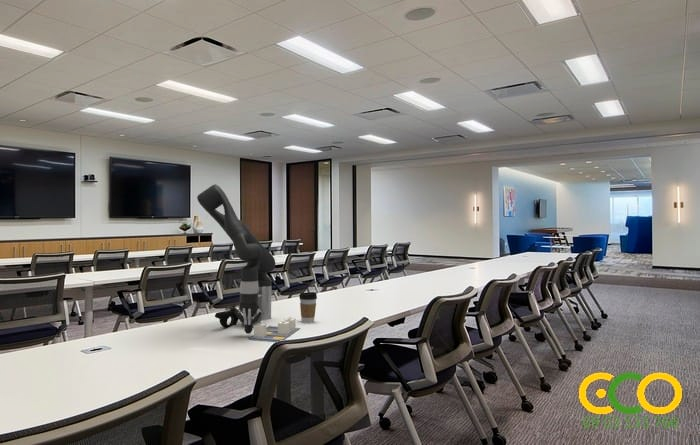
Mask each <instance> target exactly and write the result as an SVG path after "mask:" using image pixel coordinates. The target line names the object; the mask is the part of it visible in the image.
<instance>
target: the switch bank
mask: <svg viewBox="0 0 700 445" xmlns="http://www.w3.org/2000/svg"><path fill="white" fill-rule="evenodd" d="M299 330H301V328H300V327H296V328H295V331H290V334H289V335H278V325H277V326H276V325H268V326H267V334H266V336H265V337H264V338H261V337H253V334H252V335H250V336H249V337H248V338H247V339H246V341H256V342H267V343H278V342H277V341H280V340H284V341H285V340H286V339H288V338H289V337H291V336H292V335H294V334H295V333H297V332H298V331H299Z"/></svg>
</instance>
